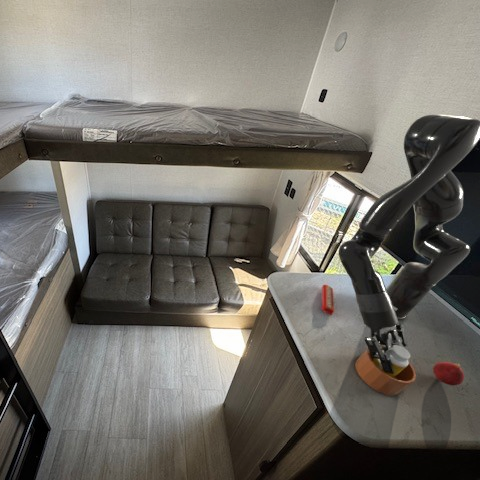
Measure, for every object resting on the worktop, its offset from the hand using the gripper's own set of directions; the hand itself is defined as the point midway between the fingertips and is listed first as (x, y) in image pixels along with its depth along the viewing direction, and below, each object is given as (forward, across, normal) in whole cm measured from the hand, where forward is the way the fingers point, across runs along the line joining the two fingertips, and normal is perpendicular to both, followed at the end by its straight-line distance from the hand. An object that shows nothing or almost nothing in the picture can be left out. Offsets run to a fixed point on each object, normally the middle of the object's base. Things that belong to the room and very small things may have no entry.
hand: (396, 368), depth 69 cm
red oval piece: (+9, +17, 0) cm, 19 cm away
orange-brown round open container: (+4, 0, +6) cm, 7 cm away
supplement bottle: (+2, 0, +5) cm, 5 cm away
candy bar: (-14, +12, +24) cm, 31 cm away
